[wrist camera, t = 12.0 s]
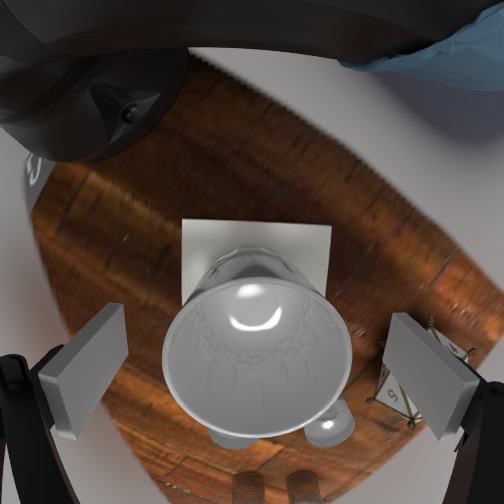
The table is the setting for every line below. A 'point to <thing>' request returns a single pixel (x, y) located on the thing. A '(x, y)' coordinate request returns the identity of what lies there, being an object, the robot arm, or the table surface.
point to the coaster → (253, 235)
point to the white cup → (256, 348)
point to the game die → (393, 393)
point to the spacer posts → (299, 483)
